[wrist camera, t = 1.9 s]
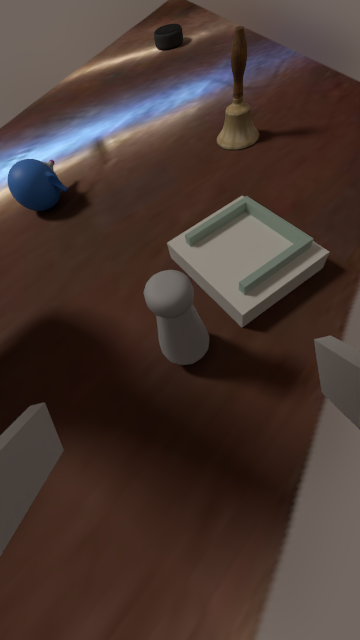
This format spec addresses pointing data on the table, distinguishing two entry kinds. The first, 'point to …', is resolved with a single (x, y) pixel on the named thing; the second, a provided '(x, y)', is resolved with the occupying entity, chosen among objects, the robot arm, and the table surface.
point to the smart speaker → (168, 36)
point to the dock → (246, 258)
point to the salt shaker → (176, 317)
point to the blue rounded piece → (35, 184)
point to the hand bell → (238, 102)
